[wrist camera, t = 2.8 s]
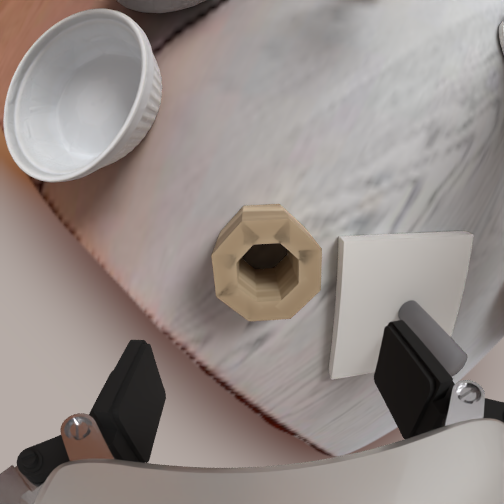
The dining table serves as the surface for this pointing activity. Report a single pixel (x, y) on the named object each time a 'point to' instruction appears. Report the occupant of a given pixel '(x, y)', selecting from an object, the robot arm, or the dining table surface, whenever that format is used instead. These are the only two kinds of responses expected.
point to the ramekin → (82, 96)
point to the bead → (269, 279)
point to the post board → (398, 296)
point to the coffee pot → (158, 5)
